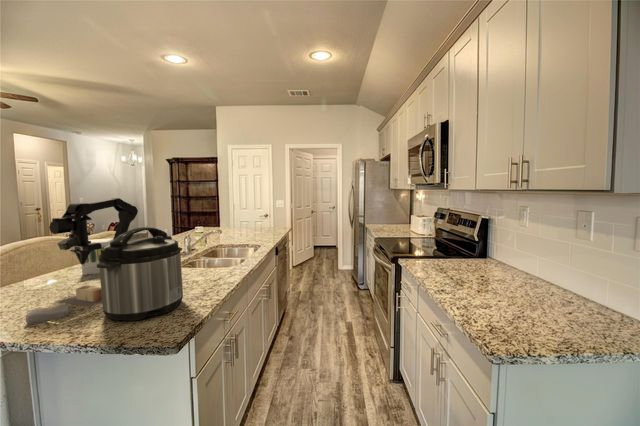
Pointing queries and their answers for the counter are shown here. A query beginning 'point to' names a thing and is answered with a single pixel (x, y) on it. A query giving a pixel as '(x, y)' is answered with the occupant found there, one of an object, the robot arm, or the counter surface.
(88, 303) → the rubber mat
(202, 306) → the counter surface
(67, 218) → the robot arm
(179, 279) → the pressure cooker
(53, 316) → the stone block
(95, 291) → the birch block
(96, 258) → the supplement box
